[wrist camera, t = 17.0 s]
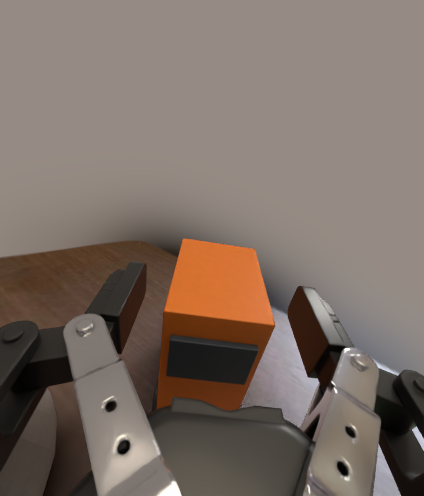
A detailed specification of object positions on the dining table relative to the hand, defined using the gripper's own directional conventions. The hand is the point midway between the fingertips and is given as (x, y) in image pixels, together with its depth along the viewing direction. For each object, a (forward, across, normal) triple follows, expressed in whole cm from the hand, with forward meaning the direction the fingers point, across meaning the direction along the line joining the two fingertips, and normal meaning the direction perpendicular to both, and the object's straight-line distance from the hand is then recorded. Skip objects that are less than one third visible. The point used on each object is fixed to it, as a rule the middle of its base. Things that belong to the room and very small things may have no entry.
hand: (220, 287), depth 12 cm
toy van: (+1, 0, +10) cm, 10 cm away
